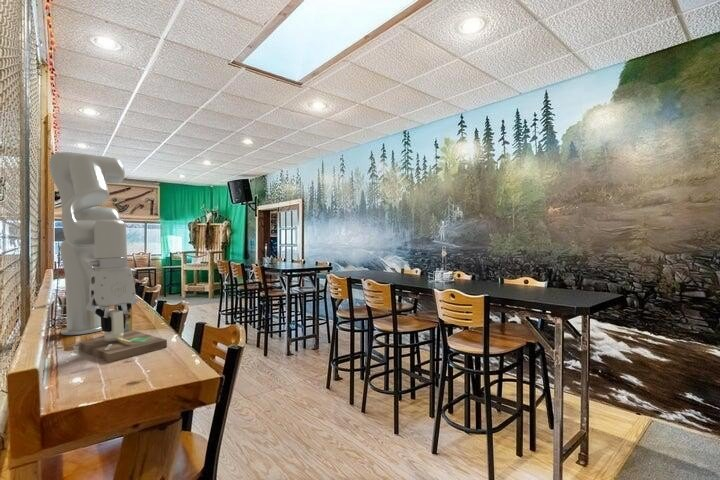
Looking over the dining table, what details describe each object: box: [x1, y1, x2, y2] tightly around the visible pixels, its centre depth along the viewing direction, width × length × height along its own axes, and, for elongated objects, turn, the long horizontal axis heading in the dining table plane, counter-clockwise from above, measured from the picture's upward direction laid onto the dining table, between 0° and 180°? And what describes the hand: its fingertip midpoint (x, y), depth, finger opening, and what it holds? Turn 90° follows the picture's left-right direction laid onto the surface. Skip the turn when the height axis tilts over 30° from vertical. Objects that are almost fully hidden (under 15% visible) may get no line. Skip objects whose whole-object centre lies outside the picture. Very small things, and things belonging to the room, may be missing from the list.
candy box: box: [113, 305, 133, 333], centre depth 116 cm, size 9×4×15 cm, turn 39°
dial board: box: [78, 330, 168, 363], centre depth 100 cm, size 20×14×2 cm
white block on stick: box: [103, 308, 132, 344], centre depth 99 cm, size 13×4×8 cm, turn 56°
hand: (113, 329), depth 101 cm, fingers closed on white block on stick, 3 cm apart
